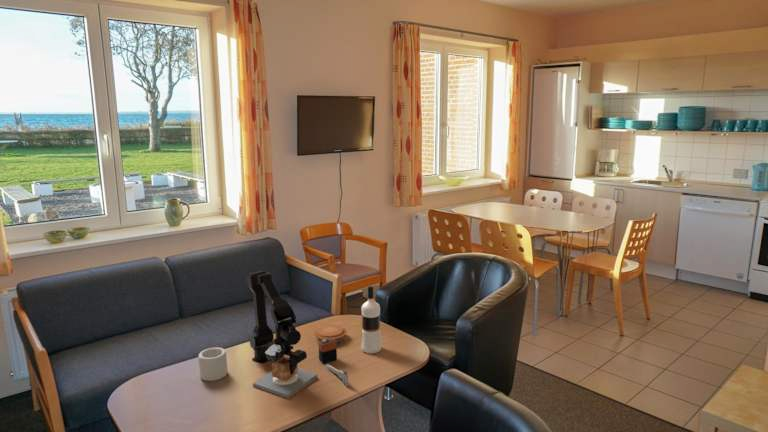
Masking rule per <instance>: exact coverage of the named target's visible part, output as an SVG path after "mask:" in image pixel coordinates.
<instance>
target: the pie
mask: <svg viewBox="0 0 768 432" xmlns="http://www.w3.org/2000/svg"><path fill="white" fill-rule="evenodd" d="M346 334H347V329H346V327H345V328H344V327H342V326H339V325H335V324H328V325H322V326H320V327H318V328H317V329H315V330H314V331H313V335H314V337H315V338H316V339H317V341H318V342H319V341H321V340H322V339H329V338H333V339H334V340H335V341H336V344H338V343H340V342H341V341H342V340H343V338H344V337H345V336H346Z"/></svg>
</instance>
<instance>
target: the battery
mask: <svg viewBox="0 0 768 432" xmlns="http://www.w3.org/2000/svg"><path fill="white" fill-rule="evenodd" d="M337 352H338V351H337V343H336V341H335V340H334V339H333V338H329V339H322V340H321V341H318V358H319V359H318V361H320V363H322V364H323V365H326V364H329V363H333V362H336V361H338V355H337V354H338V353H337Z"/></svg>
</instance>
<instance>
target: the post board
mask: <svg viewBox="0 0 768 432" xmlns="http://www.w3.org/2000/svg"><path fill="white" fill-rule="evenodd" d="M297 371H298V373H297V374H296V375H294V376H293V377H291V378H290V379H288V380H287V381H284V380H281V379H278V378H275V377H273V376H272V370H271V371H270V372H268V373H266V374H265V375H263V376H261V377H260V378H258V379H256V380H255V381H253V382H252V387H254V388H256V389H260V390H262V391H265V392H268V393H271V394H273V395H276V396H280V397H283V398H285V399H290V398H291V397H292V396H294V395H295V394H297V393H298V392H300V391H301V390H303V389H304V388H305V387H307V386H308V385H309V384H311V383H312V382H314V381H315V380H316V379H318V373H314V372H311V371H309V370H308V371H307V370H305V369H301V368H298V367H297Z"/></svg>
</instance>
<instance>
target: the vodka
mask: <svg viewBox="0 0 768 432" xmlns="http://www.w3.org/2000/svg"><path fill="white" fill-rule="evenodd" d="M374 295H375V294H374V286H367V301H365V302H364V303H363V304H362V305H361V307H360V308H361V323H362V325H361V333H362V335H361V337H362V339H361V345H360V349H361V351H362V352H364V353H365V354H370V355H371V354H373V355H374V354H377V353H379V352H381V351H382V345H383V344H382V339H381V306H380V305H381V304H380V303H378V302H376V300H375V299H374Z"/></svg>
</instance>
